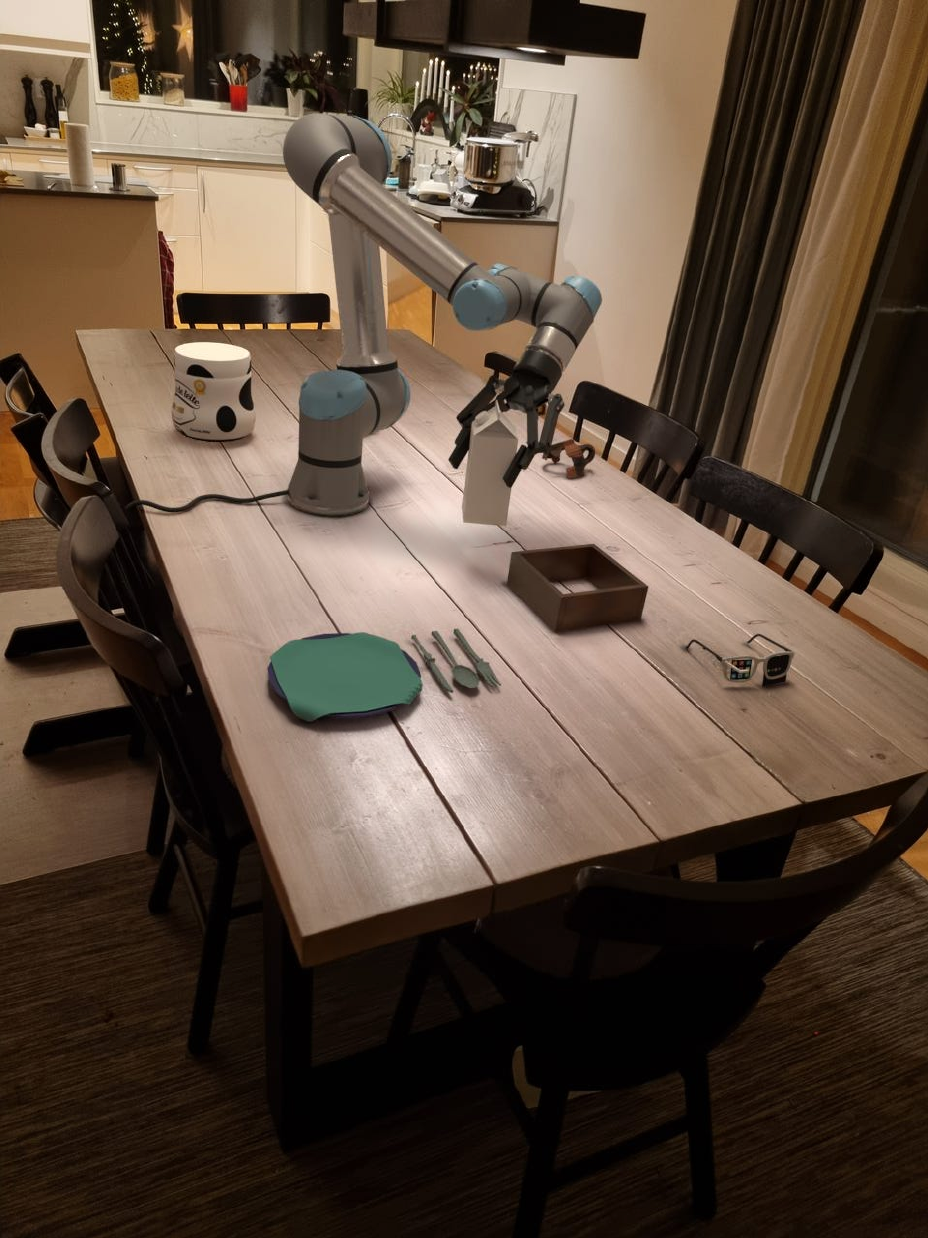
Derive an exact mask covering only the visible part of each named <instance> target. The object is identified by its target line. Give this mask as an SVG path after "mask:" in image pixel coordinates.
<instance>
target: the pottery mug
mask: <svg viewBox="0 0 928 1238" xmlns="http://www.w3.org/2000/svg"><path fill="white" fill-rule="evenodd" d="M563 451H565V455H566V456H567V457H568V458H570V459H571V461H572V463H573V465H572V466H570V467H568V468H567V467H566V469H565V472H566V476H567V479H573V478H576V477H579V476H583V475H584V474H585V468H586V466H587V465H588V464H590V463H591V462H592V461H593V460H594V459H595V456H596V449H595V447H594V445H592V444H590V443H584V444H581V445H579V444H577V443H576V442H575V439H574V438H569V439H567V440H563V441H559V442H556V443H552V445H551V449H550V452H549V453H548V454H546V455H545V454H543V453H542V455H541V458H542V460H545V461H548V459H549V460H551V461H552V464H555V465H556V464H557V463H559V462H560V461H561V453H562V452H563ZM586 451H587V452H588V453H587V455H586V457H585V455H584V453H585V452H586Z"/></svg>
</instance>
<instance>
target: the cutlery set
mask: <svg viewBox="0 0 928 1238" xmlns="http://www.w3.org/2000/svg"><path fill="white" fill-rule="evenodd" d="M453 635H454V636H455V637H456V639H457V640H458V641H459V642H460V644H461V646H462V647H463V649H464V650H465V651H466V652H467V654H468V655H469V656H470V657H471V658H472V660H473V661H474V662H475V669H474V670H475V671H476V672H477V673H478V674H479V675H480V676H481V677H482V678H483V679H484V681H485V682H486V683H487V684H488V686H490V687H491V688H492V687H497V686H502V683H501V682H500V681H499V679H498V677H497V676H496V674H495V673H494V671H493V669H492V667H491V665H490V662H488V661H484V657H483V658H482V657H481V658H480V656H479V655H478V654H477V653H476V652H475V650H474V649H473V647H471V646H470V644H469V642H468V641H467V639H466V638H465V636H464V635H463V633H462V632H461V630H460V629H459V628H457V627H456V628H453ZM431 636H432V637H433V639H434V640H435V641H436V642H437V643H438V646H440V647H441V649H442V650H443V651H444V653H445V654H446V655H447V657H448V659H449V660H450V661H451V663H452V664H453V668H452V669H451V674H452V676H453V679H454V680H455V681H456V682H457V683H458V684H459V685H461V686H463V687H465V688H468V689H474V688H478V687H479V684H480V682H481V681H480V679H479V677H478V674H477V673H476V672H475V671H474V670H473V669H471V667H468V666H465V665H463V664H458V662H457V660H456V659H455V657H454V655H453V654H452V651H451V650H450V647H448V645H447V643H446V642H445V640H444V639H443V636H441V634H440V633H439V632H438V630H432V631H431ZM410 638H411V640H413V641H414V642H415V643H416V645H417V646H418V648H419V650H420V651H421V653H422V654H423V660H425V661H426V667H430V668H431V671H432V673H433V674H434V676H435V678H436V679H437V681H438V682H439V684H440V685H441V686H442V688H443V689H444V690H445V691H447V692H448V693H451V694H453V693H454V690H453V688H452V687H451V685H450V683H449V682H448V680H447V679H446V678H445V676H444V675H443V673H442V671H441V670H440V669H439V668H438V666H437V664H436V658H435V657H433V656H432V655H433V654H432V653H431V652H428V651H427V650H426V648H425V647H424V646H423V645H422V644H421V642H420V640H419V639H418V637H417V634H412V635H411V637H410ZM268 657H269V659H270V662H269V664H268V666H267V677H268V684H269V685H270V686H271V688H272V689H273V691H274V692H275V693H276V695H277V696H278V697H279V698H281V699H282V700H283V701H285V702H287V703H288V706H289V708H290V709H291V711H292V712H293V714H295V715H296V716H297V717H298V718H300V719H301V720H303V721H305V722H308V723H309V722H313V721H315V720H317V719H319V718H322V717H324V716H325V717H330V718H338V719H355V718H369V717H374V716H378V715H381V714H385V713H389V712H393V710H395V709H397V708H399V707H401V706H403V705H405V704H406V705H407V706H410V705H411V703H412V702H413V701H414V700H415V699H416V697H418V696H419V694H420V693H421V692H422V691H423V687H424V684H423V681H422V679H421V678H422V673H421V671H420V668H419V665H418V663H417V662H416V661H415V659H413V658H412V657H411V655H410V654H408V652H407V651H406V650H404V649H402V648H401V647H400V645H399V643H397V642H396V641H393V640H390V639H387V638H384V637H382V636H378V635H374V634H371V633H368V632H365V631H360V632H354V633H350V632H338V633H337V632H336V633H335V632H334V633H322V634H321V633H320V634H316V635H311V636H307V637H306V636H305V637H302V638H299V639H293V640H288V642H286V643H284V644H283V645H281V646H280V647H279V648H278V649H277V650H276V651H274V653H272V654H271V655H270V656H268Z"/></svg>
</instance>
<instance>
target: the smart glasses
mask: <svg viewBox="0 0 928 1238" xmlns="http://www.w3.org/2000/svg"><path fill="white" fill-rule="evenodd" d="M757 637H760V638H762V639H763V640H766V641H767V642H769V643H771V644H772V645H775V646H777V647H778V648H780V649H782V650H783V651H777V652H772V653H769V654H767V655H765V656H764V657H756V656H754V655H749V654H747V655H733V656H728V657H722V656H721V655H719V654H718V653H716V652H715V651H713V650H712V649H710V648H709V647H707V646H706V645H705V644H703V643H701V642H700V641H699V640H697V639H691V640H690V641H689V643H688V644H687V645H686V646H685V649H686V650H688V649H689V648H690V647H691V645H692V644H693V643H696V644H697V645H698V646H700V647H701V648H702V650H704V651H707V652H709V653H710V654H712V655H713V657H715V658H716V659H717V661H719V662H720V663H721V665H722V671H723V672H722V673H723V677H724V679H725V680H726V681H727V682H731V683H746V682H749V681H750V680H751V679H753V677H754V676H755V674H756V671H757V669H758V665H759V664H760V663H763V664H762V671H763V675H762V683H761V687H767V686H773V685H778V684H783V683H786V681H787V675H788V672H789V670H790V667H791V665H792V662H793V659H794V658H795V657H794V656H795V651H792V650H791V649H789V648H787V647H786V646H784V645H783V644H781V643H778V642H776V641H775V640H773V639H771V638H769V637H768V636H765V635H764V634H762V633H756V634H754V635H753V636H752V637H751V638H749V640H748V641H746V644H750V643H752V642H753V641H754V639H756V638H757ZM730 661H731V663H730ZM727 667H730V673H729V676H728V671H727V669H728V668H727Z"/></svg>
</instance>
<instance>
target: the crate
mask: <svg viewBox="0 0 928 1238" xmlns="http://www.w3.org/2000/svg"><path fill="white" fill-rule="evenodd" d="M582 579H586V580H588V581H589V582H590V583H591V584H593V586H595V587H596V589H592V590H584V591H576V592H570V593H569V592H567V593H563V592H562V591H561V589H560V590H559V588H557V587H556V586H555V585H554V584H553V583H556V582H557V583H558V582H564V581H565V582H566V581H573V580H582ZM506 586H507V587H508V588H509V589H510V590H511V591H512V592H514V594H515V595H516V596H518V597H519V599H521V601H522V602H524V603H525V604H526V605H527V606H528V607H529V608H530V610H531V611H532V612H534V613H535V614H536V615H537V616H538V617H539V618H540V619H541V620H542V621H543V622H544V623H545V624H546V625H547V627H549V628H550V629H551V630H552V631H553V632H554V633H559V632H567V631H573V630H579V629H588V628H594V627H600V626H607V625H615V624H622V623H629V622H635V621H641V620H642V617H643V612H644V608H645V603H646V599H647V595H648V591H649V586H648V585H647V584H646V583H645V582H643V581H642V580H641V579H640V578H638V577H637V576H636V575H635V574H633V573H632V572H630V571H629V569H628V568H626V567H624V566H623V565H622V564H621V563H619V562H618V561H617V560H615V558H613V557H612V556H611V555H609V554H608V553H607V552H606V551H604V550H603V549H602V548H600V547H599V546H597V544H595V543H586V544H576V545H568V546H567V545H566V546H557V547H547V548H546V547H545V548H536V549H525V550H517V551H511V552H510V559H509V565H508V572H507V577H506Z"/></svg>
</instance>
